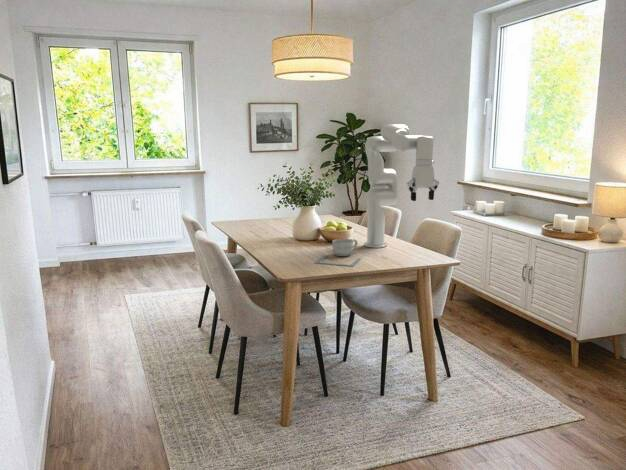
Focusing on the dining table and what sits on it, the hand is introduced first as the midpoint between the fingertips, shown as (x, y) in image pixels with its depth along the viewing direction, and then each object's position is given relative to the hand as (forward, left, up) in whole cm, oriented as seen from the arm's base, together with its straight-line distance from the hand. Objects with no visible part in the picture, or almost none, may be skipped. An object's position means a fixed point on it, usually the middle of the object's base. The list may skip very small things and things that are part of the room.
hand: (422, 200), depth 243 cm
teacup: (-7, -39, -31) cm, 50 cm away
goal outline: (+6, -39, -31) cm, 50 cm away
